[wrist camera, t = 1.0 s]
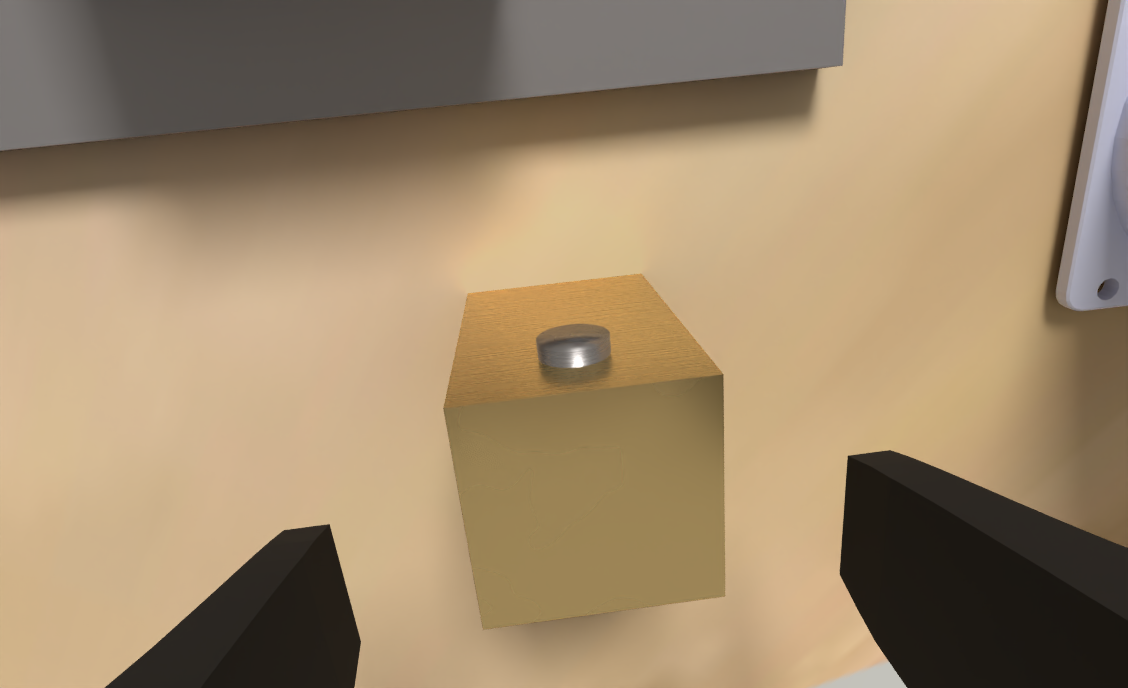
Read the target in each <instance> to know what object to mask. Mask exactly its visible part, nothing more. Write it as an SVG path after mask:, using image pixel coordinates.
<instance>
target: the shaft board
mask: <svg viewBox="0 0 1128 688" xmlns="http://www.w3.org/2000/svg"><path fill="white" fill-rule="evenodd" d="M845 10H846V0H0V151H7V150H17V149H27V148H37V147H47V146H56V145H66V144H76V143H86V142H96V141H106V140H116V139H126V138H136V137H146V136H156V135H165V134H175V133H185V132H195V131H205V130H215V129H225V128H235V127H245V126H255V125H265V124H275V123H284V122H294V121H304V120H314V119H324V118H334V117H344V116H354V115H364V114H374V113H384V112H393V111H403V110H413V109H423V108H433V107H443V106H453V105H463V104H473V103H483V102H493V101H502V100H512V99H522V98H532V97H542V96H552V95H562V94H572V93H582V92H592V91H602V90H612V89H621V88H631V87H641V86H651V85H661V84H671V83H681V82H691V81H701V80H711V79H721V78H730V77H740V76H750V75H760V74H770V73H780V72H790V71H800V70H810V69H820V68H827V67H835V66H843V48H844V29H845Z"/></svg>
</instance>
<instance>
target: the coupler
mask: <svg viewBox="0 0 1128 688" xmlns="http://www.w3.org/2000/svg"><path fill="white" fill-rule="evenodd" d="M443 409H444V414H445V420H446V425H447V431H448V437H449V442H450V448H451V453H452V459H453V465H454V470H455V476H456V481H457V487H458V492H459V498H460V504H461V509H462V515H463V520H464V526H465V532H466V537H467V543H468V548H469V554H470V560H471V565H472V571H473V576H474V582H475V587H476V593H477V599H478V604H479V610H480V615H481V621H482V627H483V630H485V629H492V628H499V627H506V626H514V625H521V624H528V623H535V622H543V621H550V620H557V619H564V618H572V617H579V616H586V615H593V614H601V613H608V612H615V611H623V610H630V609H637V608H644V607H652V606H659V605H666V604H673V603H681V602H688V601H695V600H702V599H710V598H717V597H724V596H725V517H724V395H723V373H722V372H721V371H720V370H719V368H718V367H717V366H716V365H715V363H714V362H713V361H712V360H711V359H710V357H709V356H708V355H707V354H706V352H705V351H704V350H703V349H702V347H701V346H700V345H699V344H698V343H697V341H696V340H695V339H694V338H693V336H692V335H691V334H690V333H689V332H688V330H687V329H686V328H685V327H684V325H683V324H682V323H681V322H680V320H679V319H678V318H677V317H676V316H675V314H674V313H673V312H672V311H671V309H670V308H669V307H668V306H667V305H666V303H665V302H664V301H663V300H662V298H661V297H660V296H659V295H658V293H657V292H656V291H655V290H654V289H653V287H652V286H651V285H650V284H649V282H648V281H647V280H646V279H645V278H644V276H643V275H642V274H634V275H625V276H616V277H608V278H599V279H590V280H581V281H573V282H564V283H555V284H546V285H538V286H529V287H520V288H511V289H503V290H494V291H485V292H476V293H468V296H467V300H466V305H465V310H464V314H463V319H462V324H461V328H460V333H459V338H458V343H457V347H456V352H455V357H454V361H453V366H452V371H451V375H450V380H449V385H448V389H447V394H446V399H445V403H444V408H443Z"/></svg>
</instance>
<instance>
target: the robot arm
mask: <svg viewBox="0 0 1128 688" xmlns="http://www.w3.org/2000/svg"><path fill="white" fill-rule="evenodd" d="M1103 282H1104V286H1103V288H1102V290H1100V291H1099V292H1098V293H1097V290H1098V288H1099V286H1100V284H1101V283H1103ZM1056 298H1057V300H1058V302H1059V304H1061V305H1062V306H1064V307H1066V308H1069V309H1072V310H1075V311H1088V310H1096V309H1105V308H1113V307H1121V306H1128V0H1109V1H1108V6H1107V12H1106V17H1105V23H1104V28H1103V34H1102V39H1101V45H1100V50H1099V56H1098V61H1097V67H1096V72H1095V78H1094V83H1093V89H1092V94H1091V100H1090V105H1089V111H1088V116H1087V122H1086V127H1085V133H1084V138H1083V144H1082V150H1081V155H1080V161H1079V166H1078V172H1077V177H1076V183H1075V188H1074V194H1073V199H1072V205H1071V210H1070V216H1069V221H1068V227H1067V232H1066V238H1065V243H1064V249H1063V254H1062V260H1061V265H1060V271H1059V276H1058V282H1057V287H1056ZM840 576H841V578H842V580H843V582H844V584H845V586H846V587H847V589H848V591H849V593H850V595H851V597H852V599H853V601H854V603H855V605H856V607H857V609H858V611H859V613H860V614H861V616H862V618H863V620H864V622H865V624H866V625H867V627H868V629H869V631H870V633H871V634H872V636H873V638H874V640H875V642H876V643H877V645H878V646H879V647H880V649H881V650H882V652H883V653H884V655H885V656H886V658H887V659H888V661H889V662H890V664H891V665H892V666H893V668H894V669H895V671H896V672H897V674H898V675H899V677H900V678H901V679H902V681H903V682H904V684H905V685H906V687H907V688H1128V548H1126V547H1124V546H1121V545H1118V544H1116V543H1113V542H1111V541H1108V540H1106V539H1103V538H1101V537H1099V536H1096V535H1094V534H1091V533H1089V532H1086V531H1084V530H1081V529H1079V528H1076V527H1074V526H1072V525H1069V524H1067V523H1064V522H1062V521H1060V520H1057V519H1055V518H1053V517H1050V516H1048V515H1045V514H1043V513H1041V512H1038V511H1036V510H1034V509H1031V508H1029V507H1027V506H1024V505H1022V504H1020V503H1017V502H1015V501H1013V500H1010V499H1008V498H1006V497H1004V496H1001V495H999V494H997V493H994V492H992V491H990V490H987V489H985V488H983V487H980V486H978V485H976V484H974V483H971V482H969V481H967V480H964V479H962V478H960V477H957V476H955V475H953V474H950V473H948V472H946V471H943V470H941V469H938V468H936V467H934V466H931V465H929V464H926V463H924V462H921V461H919V460H916V459H914V458H911V457H908V456H906V455H903V454H900V453H897V452H894V451H891V450H889V451H881V452H873V453H866V454H858V455H851V456H848V461H847V476H846V490H845V505H844V519H843V534H842V548H841V563H840ZM360 644H361V641H360V637H359V633H358V629H357V626H356V622H355V618H354V614H353V611H352V607H351V603H350V599H349V596H348V592H347V588H346V584H345V581H344V577H343V573H342V569H341V566H340V562H339V558H338V554H337V551H336V547H335V543H334V539H333V536H332V532H331V528H330V524H328V525H321V526H313V527H305V528H298V529H290V530H284V531H282V532H281V533H280V534H279V535H277V536H276V537H275V538H274V539H272V540H271V541H270V542H269V543H268V544H267V545H265V546H264V547H263V548H262V549H261V550H260V551H259V552H257V553H256V554H255V555H254V556H253V557H252V558H251V559H250V560H249V561H247V562H246V563H245V564H244V565H243V566H242V567H241V568H240V569H239V570H238V571H236V572H235V573H234V574H233V575H232V576H231V577H230V578H229V579H228V580H227V581H225V582H224V583H223V584H222V585H221V586H220V587H219V588H218V589H217V590H216V591H215V592H213V593H212V594H211V595H210V596H209V597H208V598H207V599H206V600H205V601H204V602H202V603H201V604H200V605H199V606H198V607H197V608H196V609H195V610H194V611H192V612H191V613H190V614H189V615H188V616H187V617H186V618H185V619H184V620H182V621H181V622H180V623H179V624H178V625H177V626H176V627H175V628H174V629H172V630H171V631H170V632H169V633H168V634H167V635H166V636H165V637H164V638H162V639H161V640H160V641H159V642H158V643H157V644H156V645H155V646H154V647H152V648H151V649H150V650H149V651H148V652H147V653H145V654H144V655H143V656H142V657H141V658H139V659H138V660H137V661H136V662H135V663H133V664H132V665H131V666H130V667H129V668H128V669H126V670H125V671H124V672H123V673H122V674H120V675H119V676H118V677H117V678H116V679H115V680H113V681H112V682H111V683H110V684H109V685H107V686H106V687H105V688H354V686H355V679H356V672H357V665H358V658H359V651H360Z"/></svg>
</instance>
